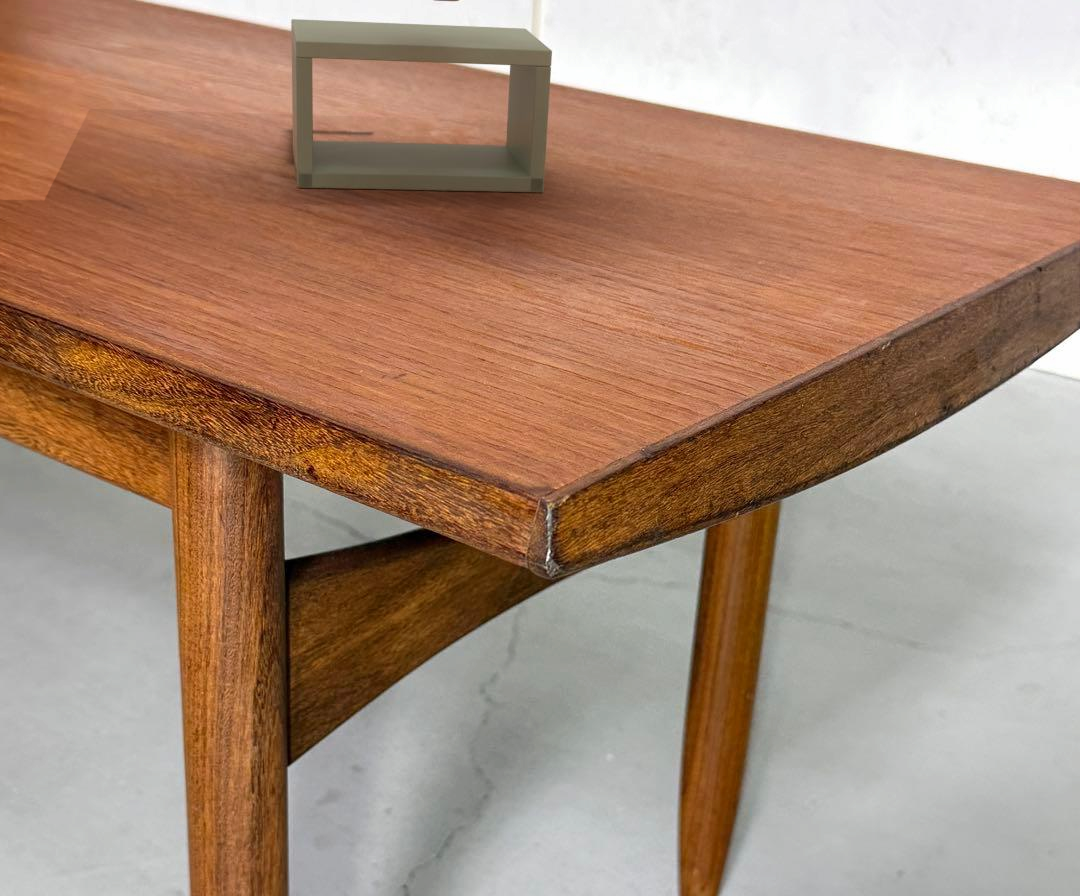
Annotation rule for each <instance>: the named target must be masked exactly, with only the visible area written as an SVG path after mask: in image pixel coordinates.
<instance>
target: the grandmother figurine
mask: <svg viewBox="0 0 1080 896" xmlns="http://www.w3.org/2000/svg"><path fill="white" fill-rule="evenodd" d="M434 1H435V2H436V1H438V2H459V1H460V0H434Z"/></svg>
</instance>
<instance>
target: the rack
mask: <svg viewBox="0 0 1080 896" xmlns="http://www.w3.org/2000/svg"><path fill="white" fill-rule="evenodd" d="M290 22H291V23H290V25H291V31H290V32H291V95H292V96H291V101H292V103H291V105H292V108H291V109H292V111H291V112H292V157H293V164H295V165H294V172H295V179H296V186H297V188H298V189H339V190H340V189H341V190H342V189H344V190H348V189H349V190H389V191H391V190H394V191H395V190H397V191H442V192H443V191H445V192H447V191H449V192H490V193H491V192H492V193H494V192H496V193H498V192H499V193H540V194H541V193H544V191H545V190H544V189H545V173H546V159H547V158H546V156H547V140H548V124H549V123H548V122H549V107H550V92H551V76H552V67H551V66H552V60H553V59H552V58H553V50H552V49H550V47H548V46H547V45H545V44H544V43H543V42H542V41H541V40H540V39H539V38H538V37H536V36H535V35H534V34H533V33H532V32H530V31H529V30H528V28H527V29H526V28H522V27H521V28H519V27H499V26H496V27H495V26H494V27H493V26H471V25H447V24H446V25H444V24H423V23H421V24H418V23H397V22H374V21H373V22H371V21H350V20H349V21H348V20H347V21H345V20H324V19H323V20H322V19H301V18H300V19H298V18H293V19H292V18H291V21H290ZM313 59H323V60H324V59H325V60H328V59H329V60H351V61H352V60H354V61H355V60H356V61H382V62H383V61H385V62H408V63H409V62H411V63H437V64H463V65H465V64H467V65H493V66H494V65H496V66H498V65H499V66H509V81H508V82H509V83H508V100H507V101H508V102H507V119H506V120H507V121H506V141H505V145H501V144H500V145H497V144H494V145H493V144H462V143H461V144H456V143H455V144H454V143H417V142H383V141H382V142H376V141H340V140H339V141H338V140H337V141H335V140H314V127H313V126H314V120H313V118H314V116H313V115H314V114H313V113H314V112H313V111H314V110H313V108H314V107H313V105H314V104H313V102H314V101H313V96H314V95H313V94H314V92H313Z"/></svg>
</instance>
